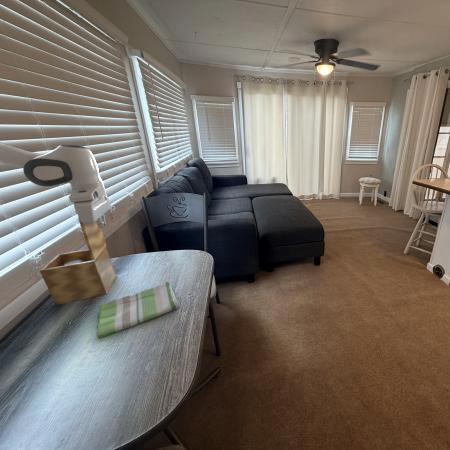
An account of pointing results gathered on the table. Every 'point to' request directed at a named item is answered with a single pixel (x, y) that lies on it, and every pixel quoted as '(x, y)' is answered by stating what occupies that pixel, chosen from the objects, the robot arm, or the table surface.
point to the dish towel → (135, 309)
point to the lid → (93, 238)
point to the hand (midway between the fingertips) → (102, 226)
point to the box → (78, 276)
